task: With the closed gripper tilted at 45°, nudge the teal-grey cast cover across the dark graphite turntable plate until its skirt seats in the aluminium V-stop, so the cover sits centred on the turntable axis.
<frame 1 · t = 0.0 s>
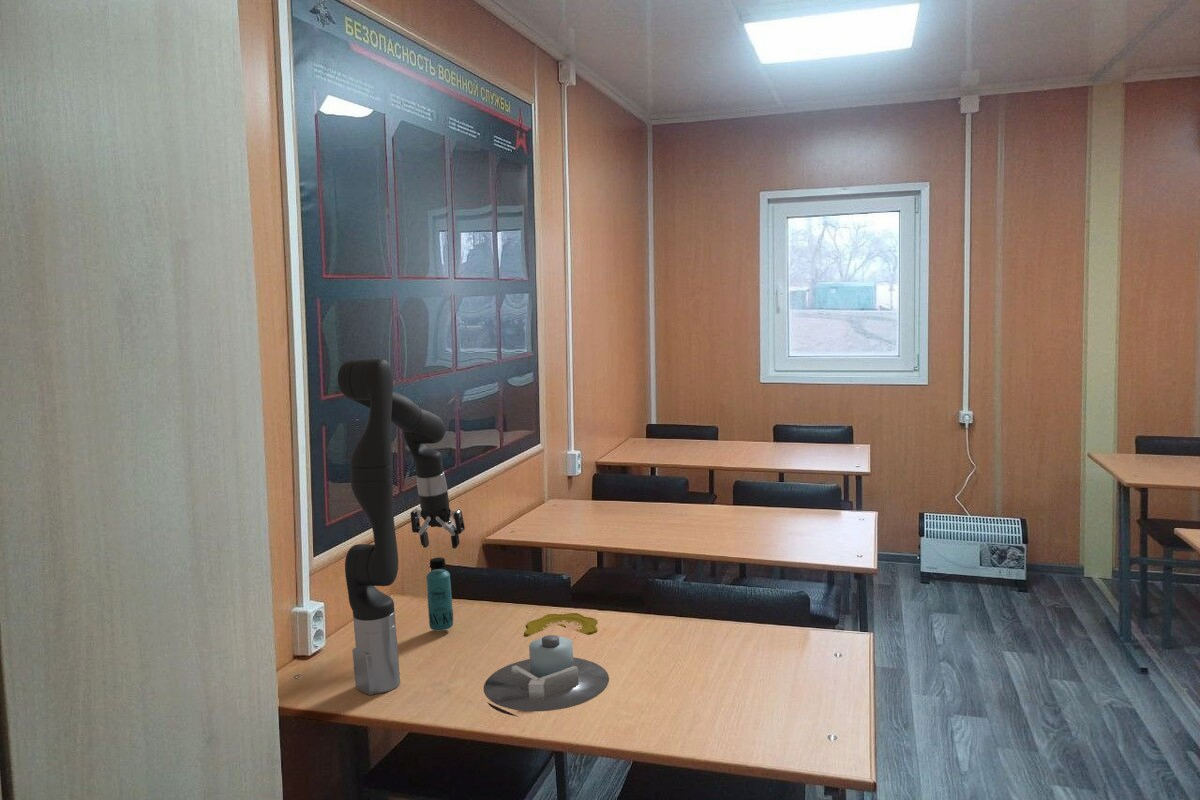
hand: (440, 546, 236), 22 cm above the table, tool pointing down, fingers open, 8 cm apart
turntable: (547, 688, 199), on the table
decorative medallion: (561, 630, 235), on the table
cast cover: (552, 669, 205), point 1 cm above the table, touching turntable
beverage bottle: (442, 632, 236), on the table
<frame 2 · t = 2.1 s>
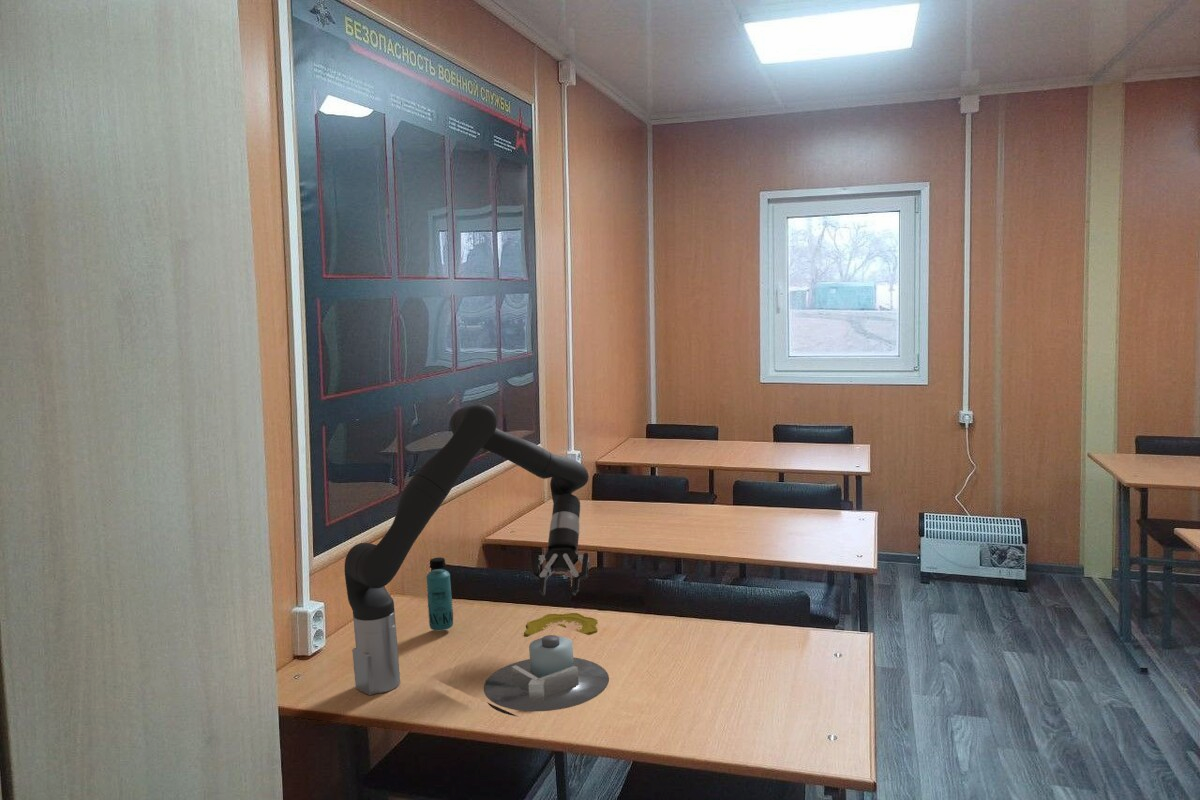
hand: (558, 593, 215), 16 cm above the table, tool tilted 45°, fingers open, 7 cm apart
nothing on the table moved.
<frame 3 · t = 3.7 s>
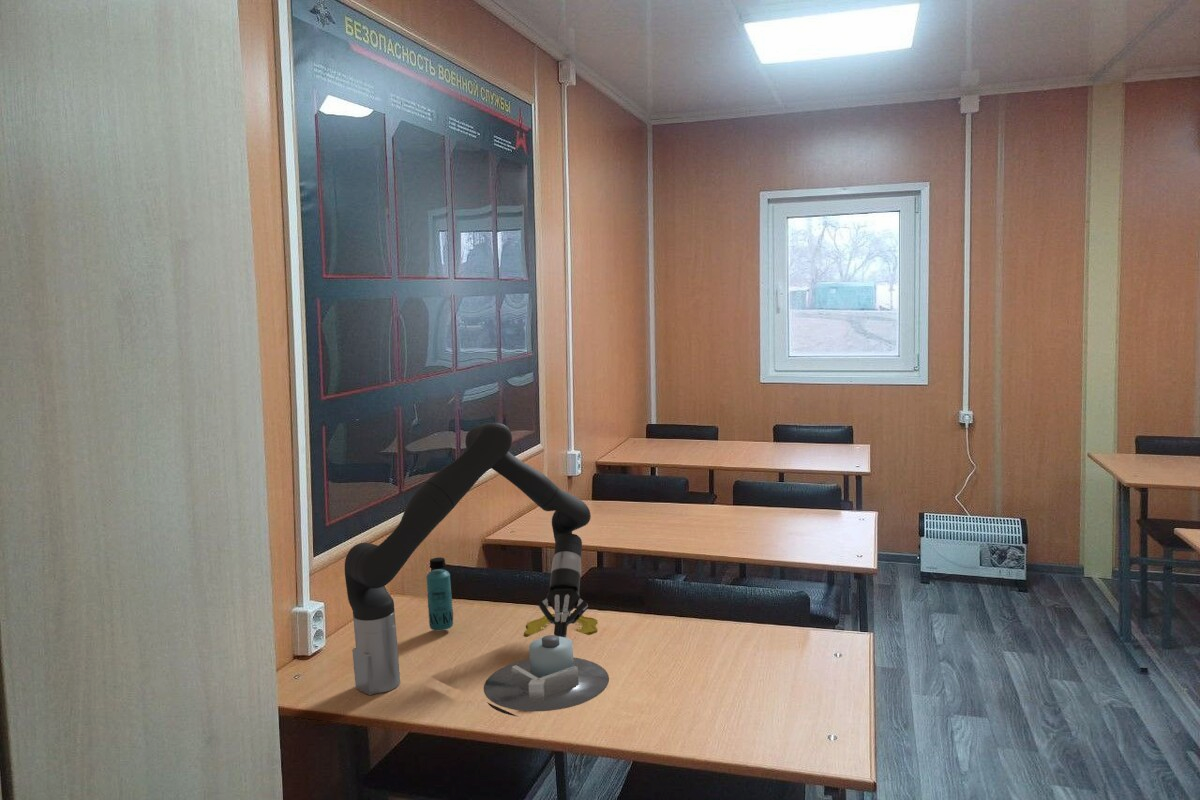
hand: (559, 638, 214), 5 cm above the table, tool tilted 45°, fingers closed
nothing on the table moved.
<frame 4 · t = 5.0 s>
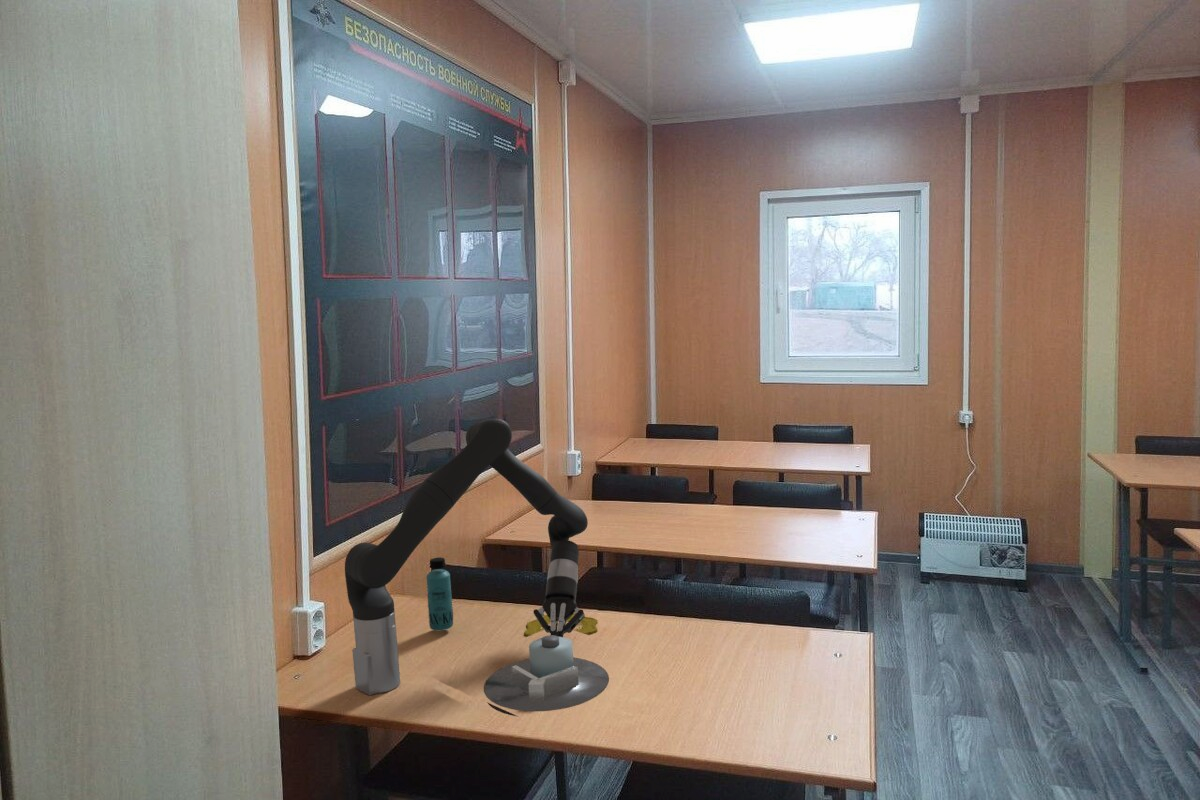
hand: (555, 648, 210), 4 cm above the table, tool tilted 45°, fingers closed
cast cover: (552, 669, 205), point 1 cm above the table, touching gripper, turntable
everything else where it was.
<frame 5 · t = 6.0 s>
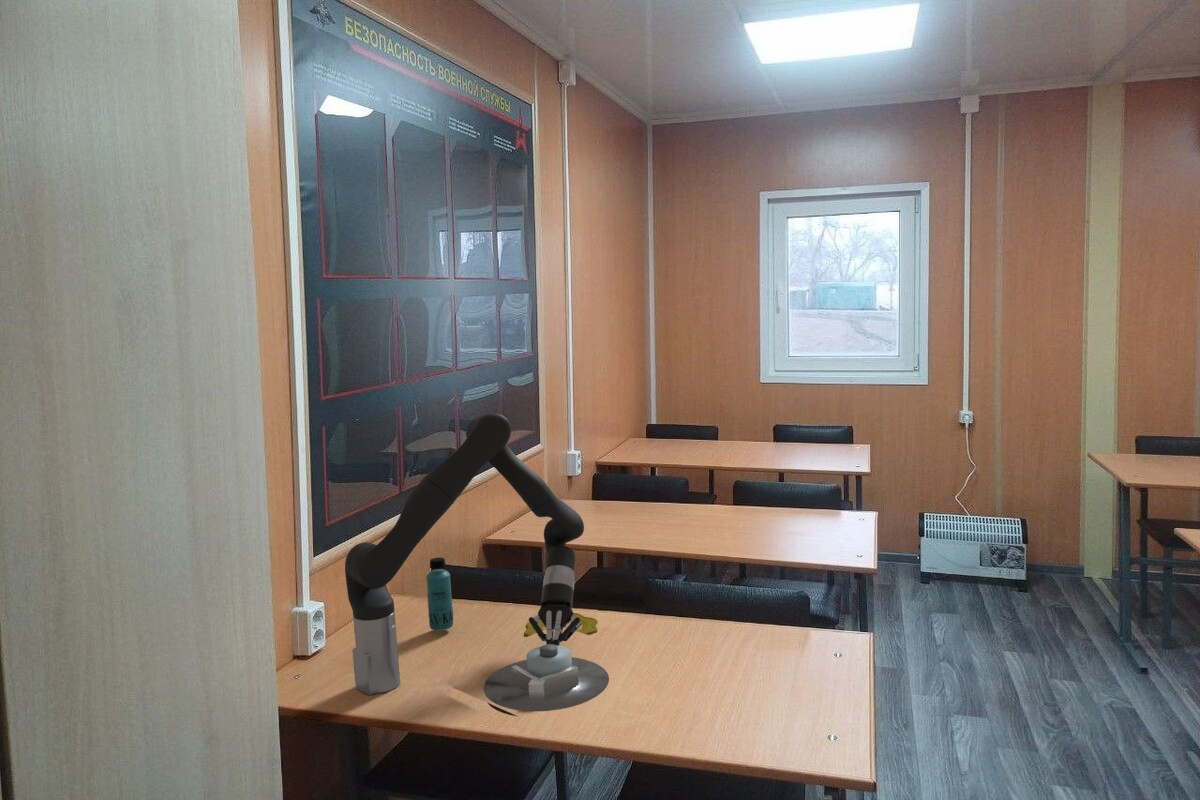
hand: (551, 657, 205), 4 cm above the table, tool tilted 45°, fingers closed
cast cover: (550, 679, 199), point 2 cm above the table, touching gripper, turntable
everything else where it was.
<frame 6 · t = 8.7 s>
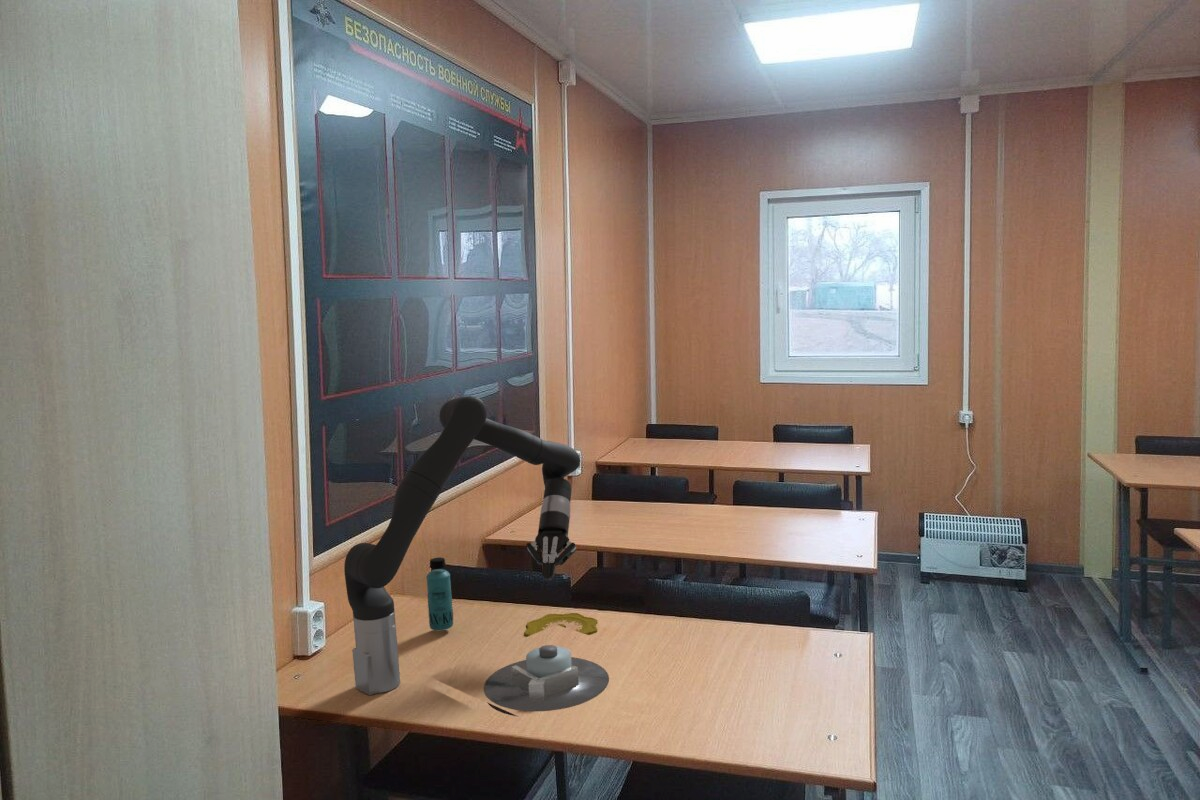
hand: (547, 579, 214), 19 cm above the table, tool tilted 45°, fingers closed
cast cover: (550, 680, 199), point 1 cm above the table, touching turntable
everything else where it was.
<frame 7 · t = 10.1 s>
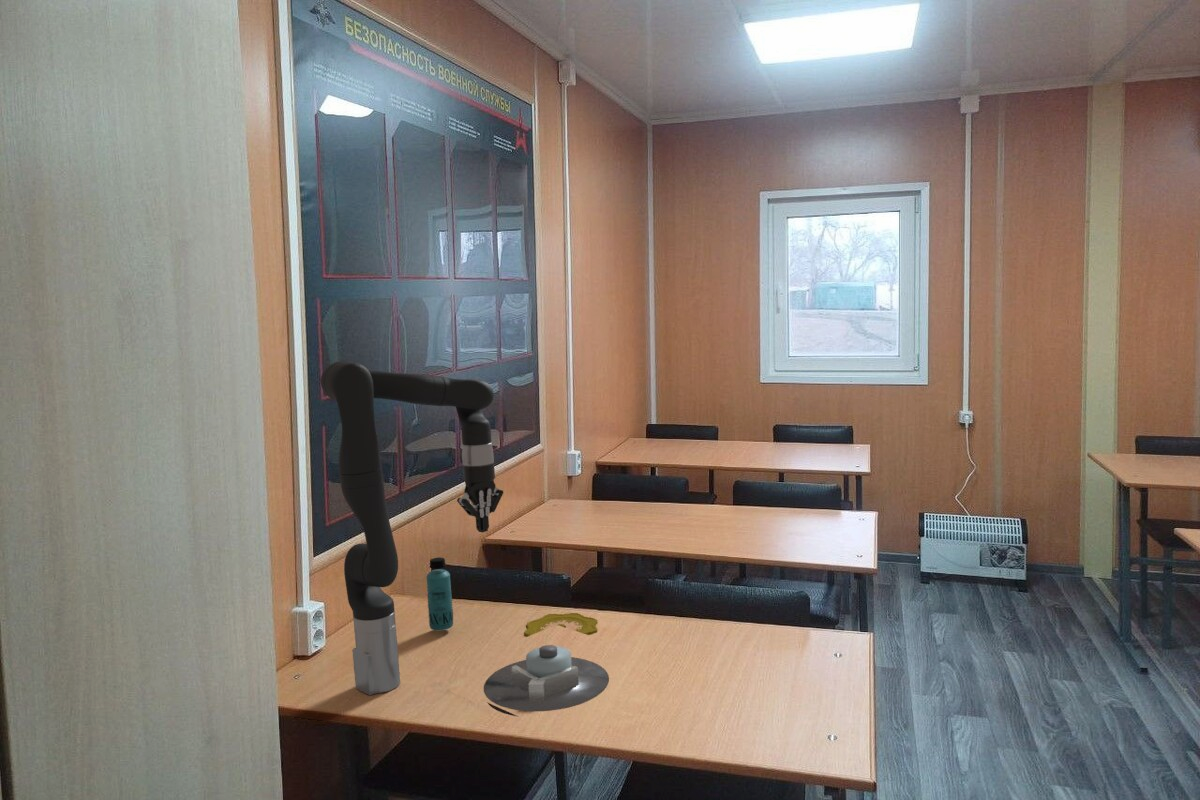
hand: (483, 531, 217), 31 cm above the table, tool pointing down, fingers closed
nothing on the table moved.
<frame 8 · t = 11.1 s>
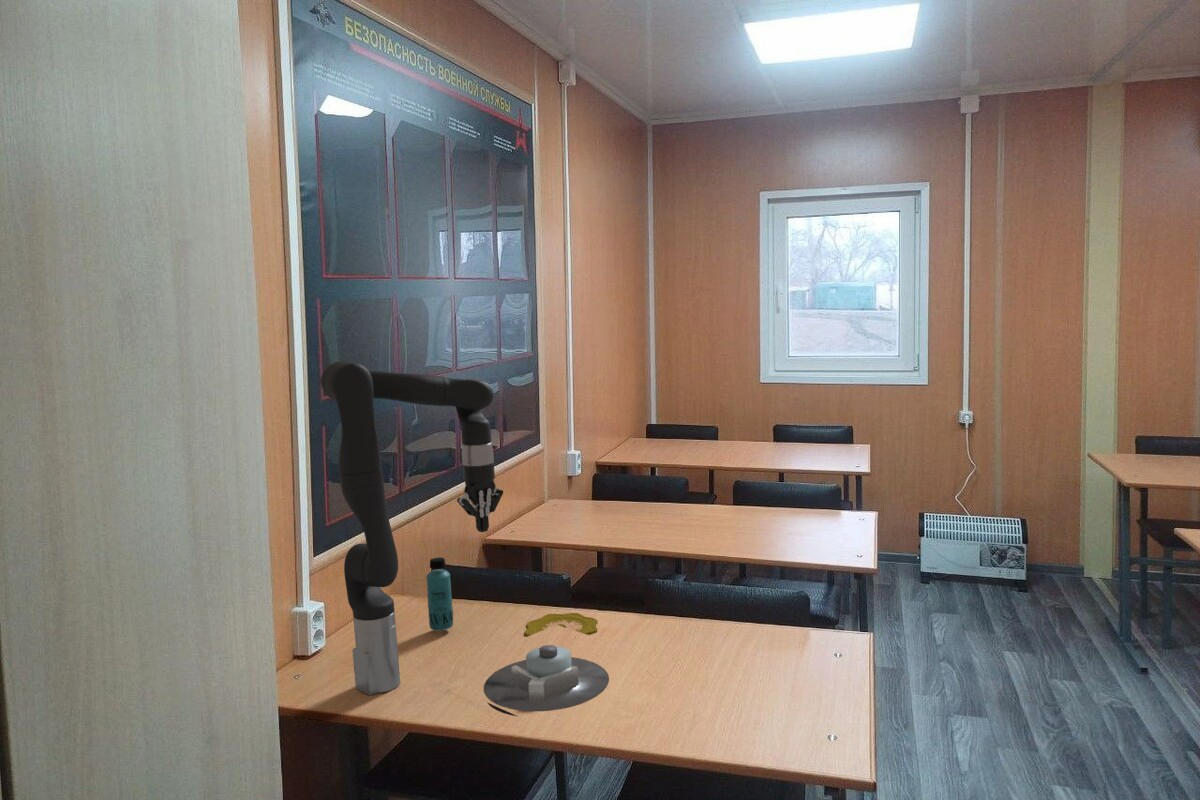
hand: (483, 531, 217), 31 cm above the table, tool pointing down, fingers closed
nothing on the table moved.
at the end: cast cover 0.9 cm from the turntable (horizontally); cast cover tilted 0°; cast cover point 1.5 cm above the table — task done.
